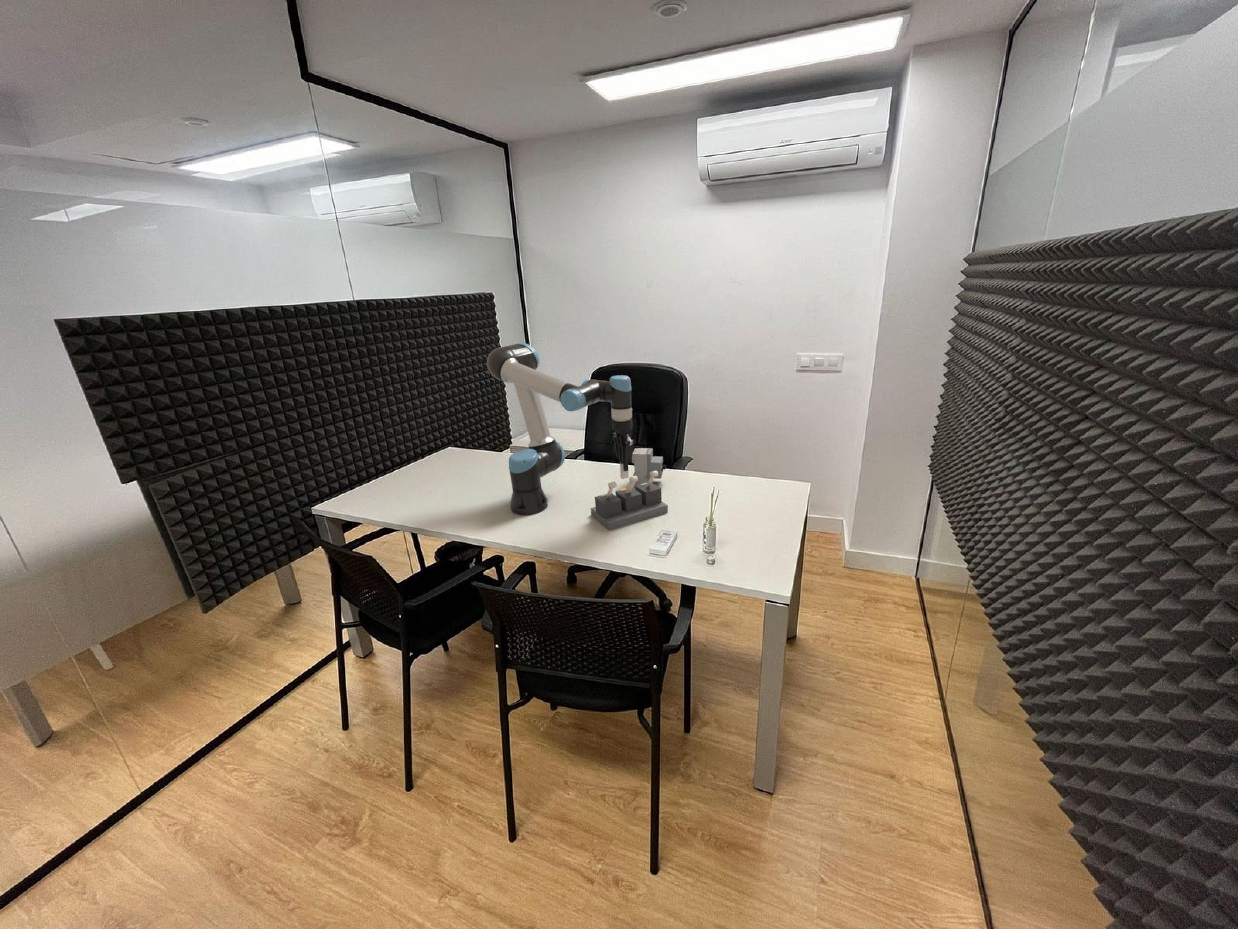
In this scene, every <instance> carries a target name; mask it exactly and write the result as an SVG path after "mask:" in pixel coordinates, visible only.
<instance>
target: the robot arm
mask: <svg viewBox="0 0 1238 929" xmlns="http://www.w3.org/2000/svg"><path fill="white" fill-rule="evenodd" d="M539 365H540V357H539V354H538V352H537V350H536V349H535V348H534V347H533V346H531V345H530V344H529V343H524V342H523V343H514V344H510V345H507V346H506V345H505V346H500V347H497V348H494V349H493V350H492V351H490V353H489V354H488V357H487V359H486V366H487V370H488V372H489V373H490V374H491V376H492V377H493V378H495V379H497V380H498V381H501V382H503V383H506V384H510V383H512V384H513V385H514V389H515V391H516V394H517V398H518V401H519V402H518V403H519V406H520V409H521V412H522V416H523V420H524V422H525V426H526V429H527V432H528V433H527V434H528V437H529V443H528V444H527V446H528V448H524V449H520V450H517V451H515V452H513V453H512V454H511V455H510V456H509V457H508V470H509V475H510V476H509V478H510V481H511V488H512V493H511V499H510V504H509V506H510V510H511V512H512V513H514V514H516V515H519V516H520V515H521V516H524V515H525V516H527V515H529V516H530V515H534V514H538V513H541V512H542V511H544V510H545V509H547V507H548V498H547V496H546V494H545V492H544V490H543V487H542V480H541V478H543V477H544V476H547V475H548V474H551V473H552V472H554V471H557V470H558V469H559V468H560V467H562V465H563V464H564V462H565V458H566V454H565V449H564V447H563V446H562V444H561V443H560V442H558V441H556V438H555V437H554V436H552V435H551V432H550V429H549V426H548V422H547V418H546V415H545V411H544V407H543V404H542V399H541V395H542V396H544V397H546V398H549V399H552V400H553V401H556V402H559V403H560V405H561V407H562V408H564V410H565V411H566V412H575V411H579V410H582V409H584V408H586V407H588V406H591V405H593V404H596V403H598V402H604V403H605V402H607V403H610V406H611V407H610V409H611V410H610V411H611V413H610V414H611V419H612V420H611V423H612V424H611V428H612V430H614V432H612V433H611V436H612V439H613V445H614V451H615V458H616V459H618V462H619V468H620V469H619V471H620V472H619V473H620V474H619V475H620V479H621V480H625V479H629V478H630V477H629V463H632V454H633V452H634V450H633V448H634V445H635V440H634V439H631V433H630V430H632V429H633V426H634V425H633V408H632V407H633V406H632V404H633V403H632V382H631V378H630V377H629V376H628V375H623V374H621V375H620V374H619V375H618V374H617V375H612V376H611V377H610V378H609V380H600V379H599V380H598V379H584V381H583V382H582V383H581V385H575V384H572V383H570V382H568V381H564V380H562V379H559V378H558V377H554V376H552V375H550V374H547V373H545V372H542V371H539V370H537V369H538V367H539Z"/></svg>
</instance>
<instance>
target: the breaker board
mask: <svg viewBox="0 0 1238 929" xmlns="http://www.w3.org/2000/svg"><path fill="white" fill-rule="evenodd" d="M650 476H651V477H650V479H649V481H648V483H643V484H640V485H637V486H636V485H634V488H633V489H632V492H630V493H627V492H626V488H627V487H625V488H622V489H618V490H616V491H615V494H614V493H613V490H614V489H615V488H617V487H618V484H617V482H616V481H612V482H611V481H610V482H608V483H607V486H608V490H607V492H606V493H604V494H603V493H602V494H600V495H597V496H594V504H595V506H593V507H590V515H591V516H592V517H593V518H594V519H596V521H597V522H599V523H600V524H601V525H602V526H603V527H605V528H606V529H607V530H608V531H611V530H614V529H618V528H621V527H624V526H627V525H631V524H634V523H637V522H640V521H644V520H648V519H650V518H652V517H656V516H659V515H662V514H663V515H664V514H666V513H668V512H669V509H668V508H669V507H668V504H667V503H665V502H664V501H662V499H663V498H662V488H661V487H660V486H658V485H657V484H655V483H652V481H653V482H654V480H655V479H654V477H656V476H658V472H657V471H652V472H650ZM653 479H654V480H653Z"/></svg>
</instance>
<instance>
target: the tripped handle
mask: <svg viewBox="0 0 1238 929" xmlns="http://www.w3.org/2000/svg"><path fill="white" fill-rule="evenodd" d="M628 479H629V482H628V484H627V487H625V488H626V492H627V493H630V492H632V489H634V488H635V486H636V485H635V483H636V482H637V481H638V478H637V476H633V475H632V476H630V477H629V478H628Z"/></svg>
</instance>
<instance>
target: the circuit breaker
mask: <svg viewBox="0 0 1238 929" xmlns="http://www.w3.org/2000/svg"><path fill="white" fill-rule="evenodd" d="M631 463H632V464H633V469H634V472H633V475H632V477H633V476H637V478H638V481H637V482H636V483H635V485H634V486H637V485H640V484H643V483H648V481H649V479H650V477H651V476H650V472H652V471H657V472H658V476H656V477H654V479H653V481H652V483H653V482H654V480H655V479H656V480H658V479H662V477H663V473H664V470H665V471H666V469H667V464H664V456H657V455H655V456H654V449H653V448H652V447H651V448H649V447H648V448H647V447H646V448H642V447H641V448H639V447H638V448H634V450H633V451H632V461H631ZM653 484H654V483H653Z"/></svg>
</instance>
